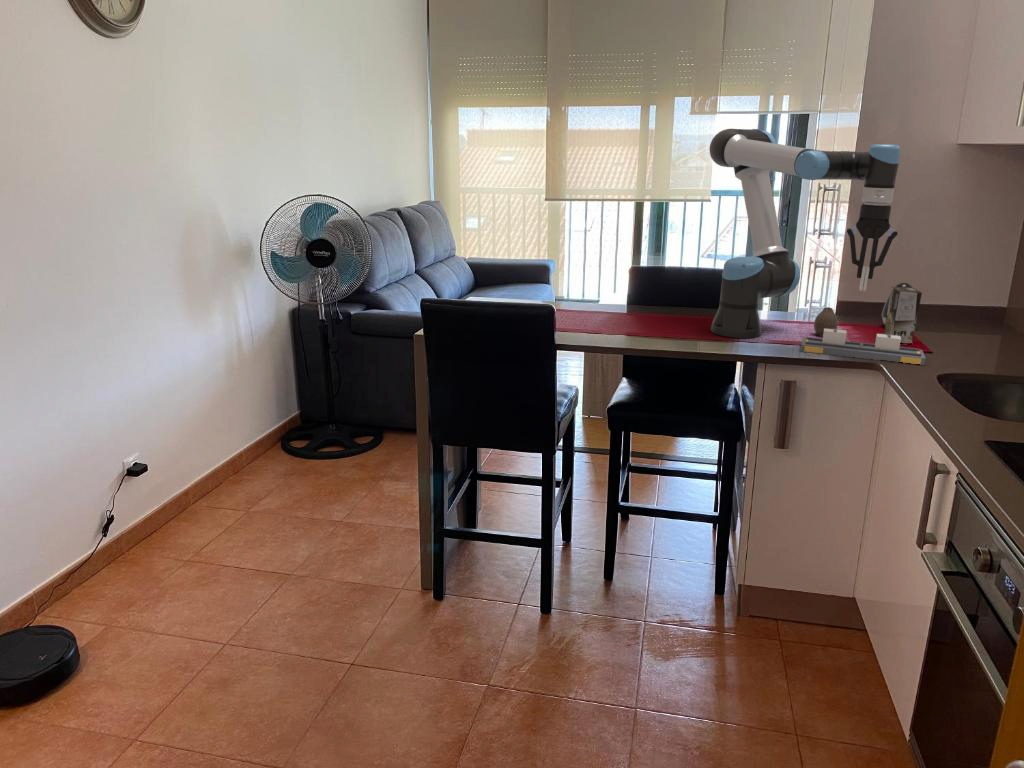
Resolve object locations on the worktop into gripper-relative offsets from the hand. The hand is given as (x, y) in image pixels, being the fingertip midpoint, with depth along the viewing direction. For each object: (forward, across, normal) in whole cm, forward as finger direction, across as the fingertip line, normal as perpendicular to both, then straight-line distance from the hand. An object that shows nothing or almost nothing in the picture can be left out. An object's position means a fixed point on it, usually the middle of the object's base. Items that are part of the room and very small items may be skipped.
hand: (862, 289), depth 211 cm
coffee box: (+19, +13, +23) cm, 32 cm away
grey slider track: (+18, +2, 0) cm, 19 cm away
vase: (+19, -8, +20) cm, 28 cm away
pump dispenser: (+19, +14, +43) cm, 49 cm away
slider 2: (+16, +9, 0) cm, 19 cm away
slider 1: (+16, -5, 0) cm, 17 cm away
